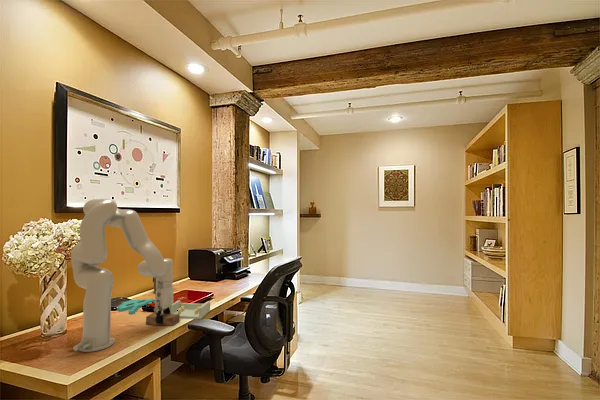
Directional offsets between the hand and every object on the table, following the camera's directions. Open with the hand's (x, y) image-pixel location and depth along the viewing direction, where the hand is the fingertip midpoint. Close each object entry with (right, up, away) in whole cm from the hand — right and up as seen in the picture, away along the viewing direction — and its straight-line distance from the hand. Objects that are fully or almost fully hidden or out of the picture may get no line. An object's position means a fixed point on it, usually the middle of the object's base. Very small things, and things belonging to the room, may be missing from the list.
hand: (163, 320), depth 153 cm
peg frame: (+8, -2, +12) cm, 15 cm away
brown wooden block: (0, -1, 0) cm, 1 cm away
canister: (-26, -3, +57) cm, 62 cm away
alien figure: (-26, -3, +25) cm, 36 cm away
